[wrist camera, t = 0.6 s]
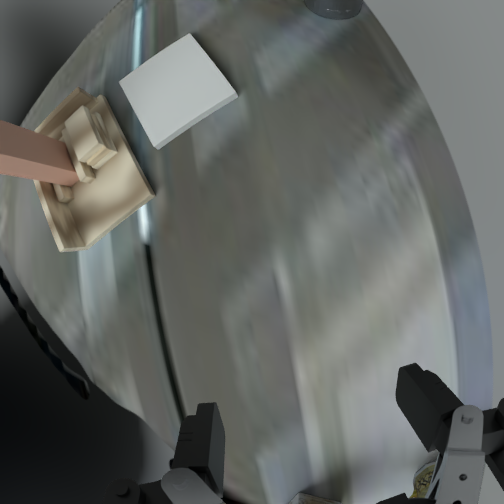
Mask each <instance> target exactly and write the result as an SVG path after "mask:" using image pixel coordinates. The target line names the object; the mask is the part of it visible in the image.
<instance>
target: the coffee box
mask: <svg viewBox="0 0 504 504" xmlns="http://www.w3.org/2000/svg"><path fill="white" fill-rule="evenodd" d="M288 504H341V502H338V501H333V500H328V499H324V498H320V497H315V496H312V495H308V494H304V493H300V492H299V493H298V494H297V495H296V496H295V497H294V498H293V499H292V500H291V501H290V502H289V503H288Z"/></svg>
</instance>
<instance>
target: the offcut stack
mask: <svg viewBox="0 0 504 504" xmlns="http://www.w3.org/2000/svg"><path fill="white" fill-rule="evenodd" d="M64 123H65V126H66V129H67V132H68V134H69V137H70V140H71V142H72V145H73V148H74V150H75V153H76V155H77V158H78V161H81V162H84V163H85V162H87V164H88V165H91V166H92V168H95V169H99V168H100V167H101V166H102V165H104V164H105V163H106V162H107V161H108V160H109V159H111V158H112V157H113V156H114V155H115V154H117V153H118V152H117V150H116V148H115V146H114V143H113V141H112V139H111V137H110V135H109V133H108V131H107V129H106V126H105V124H104V122H103V120H102V118H101V115H100V114H99V113H97V112H95V111H94V112H93V113H92V114H91V113H90V111H89V109H88V108H87V107H85V106H83V105H82V106H81V107H80V108H79V109H78V110H77V111H75V112H74V113H73V114H72V115H71V116H70V117H69V118H68V119H67V120H66V121H65V122H64Z"/></svg>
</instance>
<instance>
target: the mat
mask: <svg viewBox="0 0 504 504" xmlns="http://www.w3.org/2000/svg"><path fill="white" fill-rule="evenodd" d="M119 83H120V85H121V87H122V89H123V91H124V93H125V94H126V96H127V98H128V100H129V102H130V104H131V106H132V108H133V109H134V111H135V113H136V115H137V117H138V119H139V121H140V122H141V124H142V126H143V128H144V130H145V132H146V134H147V135H148V137H149V139H150V141H151V143H152V144H153V146H154V147H155V148H156V149H158V150H159V149H160V148H161V147H163V146H164V145H166V144H167V143H168V142H170V141H171V140H173V139H174V138H175V137H177V136H178V135H180V134H181V133H183V132H184V131H186V130H187V129H188V128H190V127H191V126H193V125H194V124H196V123H197V122H199V121H200V120H202V119H204V118H205V117H207V116H208V115H210V114H211V113H213V112H214V111H216V110H218V109H219V108H221V107H222V106H224V105H226V104H227V103H229V102H231V101H232V100H234V99H236V98H237V97H238V95H237V93H236V91H235V90H234V89H233V87H232V86H231V85H230V83H229V82H228V81H227V80H226V78H225V77H224V76H223V74H222V73H221V72H220V70H219V69H218V68H217V67H216V65H215V64H214V63H213V61H212V60H211V59H210V58H209V56H208V55H207V54H206V53H205V51H204V50H203V49H202V48H201V46H200V45H199V44H198V43H197V41H196V40H195V39H194V38H193V37H192V35H191V34H190V33H189V34H187V35H186V36H184V37H182V38H181V39H179V40H178V41H176V42H174V43H173V44H171V45H170V46H168V47H167V48H165V49H164V50H162V51H161V52H159V53H158V54H156V55H155V56H153V57H152V58H150V59H149V60H147V61H146V62H145V63H143V64H142V65H140V66H139V67H138V68H136V69H135V70H134V71H132V72H131V73H130V74H128V75H127V76H126V77H124V78H123V79H122V80H120V81H119Z"/></svg>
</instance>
